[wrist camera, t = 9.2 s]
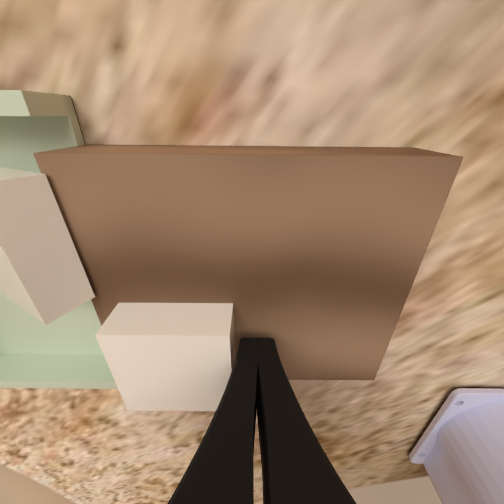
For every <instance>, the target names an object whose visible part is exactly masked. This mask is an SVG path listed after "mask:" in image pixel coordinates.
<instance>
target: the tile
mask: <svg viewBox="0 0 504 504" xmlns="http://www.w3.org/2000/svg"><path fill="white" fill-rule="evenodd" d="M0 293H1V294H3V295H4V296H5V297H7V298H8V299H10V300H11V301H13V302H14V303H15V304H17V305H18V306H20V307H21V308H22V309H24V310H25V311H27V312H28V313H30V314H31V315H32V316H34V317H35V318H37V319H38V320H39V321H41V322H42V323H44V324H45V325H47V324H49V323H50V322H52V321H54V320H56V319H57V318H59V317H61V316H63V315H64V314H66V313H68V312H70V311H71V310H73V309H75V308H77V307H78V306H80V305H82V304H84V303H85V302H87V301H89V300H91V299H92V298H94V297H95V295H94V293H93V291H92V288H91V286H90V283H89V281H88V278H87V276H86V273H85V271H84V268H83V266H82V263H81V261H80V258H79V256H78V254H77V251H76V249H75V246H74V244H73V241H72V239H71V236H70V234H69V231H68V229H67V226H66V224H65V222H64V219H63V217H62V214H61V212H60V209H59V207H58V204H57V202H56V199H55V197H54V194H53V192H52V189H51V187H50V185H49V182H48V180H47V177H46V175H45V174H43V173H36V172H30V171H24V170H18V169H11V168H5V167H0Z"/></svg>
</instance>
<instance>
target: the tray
mask: <svg viewBox="0 0 504 504" xmlns="http://www.w3.org/2000/svg"><path fill="white" fill-rule="evenodd" d="M80 145H85V143H84V140H83V137H82V133H81V130H80V126H79V123H78V120H77V116H76V113H75V110H74V106H73V103H72V99H71V96H66V95H58V94H49V93H40V92H32V91H23V90H0V167H5V168H11V169H18V170H24V171H30V172H36V173H41V172H40V170H39V167H38V164H37V162H36V159H35V157H34V154H33V153H37V152H43V151H49V150H56V149H62V148H68V147H74V146H80ZM100 328H101V323H100V321H99V318H98V316H97V313H96V311H95V308H94V306H93V303H92V301H91V300H89V301H87V302H85V303H84V304H82V305H80V306H78V307H77V308H75V309H73V310H71V311H70V312H68V313H66V314H64V315H63V316H61V317H59V318H57V319H56V320H54V321H52V322H50V323H49V324H47V325H45V324H44V323H42V322H41V321H39V320H38V319H37V318H35V317H34V316H32V315H31V314H30V313H28V312H27V311H25V310H24V309H22V308H21V307H20V306H18V305H17V304H15V303H14V302H13V301H11V300H10V299H8V298H7V297H5V296H4V295H3V294H1V293H0V388H91V389H118V387H117V385H116V383H115V380H114V378H113V376H112V373H111V371H110V369H109V366H108V364H107V362H106V359H105V357H104V355H103V352H102V350H101V348H100V345H99V343H98V341H97V338H96V336H95V334H96V333H97V332H98V330H99V329H100Z"/></svg>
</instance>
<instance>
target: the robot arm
mask: <svg viewBox="0 0 504 504" xmlns="http://www.w3.org/2000/svg"><path fill="white" fill-rule="evenodd" d="M256 409H257V418H258V429H259V440H260V451H261V463H262V477H263V504H356V502H355V501H354V499H353V498H352V496H351V495H350V493H349V492H348V490H347V489H346V487H345V485H344V484H343V482H342V481H341V479H340V478H339V476H338V474H337V473H336V471H335V469H334V468H333V466H332V464H331V462H330V461H329V459H328V457H327V456H326V454H325V452H324V450H323V449H322V447H321V445H320V443H319V442H318V440H317V438H316V436H315V434H314V433H313V431H312V429H311V427H310V425H309V423H308V421H307V419H306V417H305V415H304V413H303V411H302V409H301V407H300V405H299V403H298V401H297V399H296V397H295V394H294V392H293V390H292V388H291V385H290V383H289V381H288V378H287V376H286V373H285V371H284V368H283V366H282V363H281V360H280V357H279V354H278V351H277V347H276V344H275V340H274V339H273V338H249V337H243V338H241V339H240V341H239V347H238V352H237V356H236V359H235V363H234V366H233V369H232V372H231V375H230V377H229V380H228V383H227V386H226V388H225V391H224V393H223V396H222V398H221V401H220V403H219V405H218V407H217V410H216V412H215V414H214V417H213V419H212V421H211V423H210V425H209V427H208V430H207V432H206V434H205V436H204V438H203V440H202V442H201V444H200V446H199V448H198V450H197V452H196V454H195V455H194V457H193V459H192V461H191V463H190V465H189V467H188V468H187V470H186V472H185V474H184V476H183V478H182V479H181V481H180V483H179V485H178V487H177V488H176V490H175V492H174V494H173V495H172V497H171V499H170V500H169V502H168V504H254V501H253V452H254V438H255V423H256ZM409 459H410V461H411V462H412V463H415V464H423V465H424V467H425V469H426V471H427V473H428V475H429V477H430V479H431V481H432V483H433V485H434V487H435V489H436V491H437V493H438V495H439V498H440V499H441V502H442V504H504V389H500V388H458V389H455V390H453V391H452V392H451V393H450V395H449V396H448V398H447V399H446V401H445V402H444V404H443V405H442V407H441V408H440V410H439V411H438V413H437V414H436V416H435V417H434V419H433V420H432V422H431V423H430V425H429V426H428V428H427V429H426V431H425V432H424V433H423V435H422V436H421V438H420V439H419V441H418V442H417V444H416V445H415V447H414V448H413V450H412V451H411V453H410V454H409Z"/></svg>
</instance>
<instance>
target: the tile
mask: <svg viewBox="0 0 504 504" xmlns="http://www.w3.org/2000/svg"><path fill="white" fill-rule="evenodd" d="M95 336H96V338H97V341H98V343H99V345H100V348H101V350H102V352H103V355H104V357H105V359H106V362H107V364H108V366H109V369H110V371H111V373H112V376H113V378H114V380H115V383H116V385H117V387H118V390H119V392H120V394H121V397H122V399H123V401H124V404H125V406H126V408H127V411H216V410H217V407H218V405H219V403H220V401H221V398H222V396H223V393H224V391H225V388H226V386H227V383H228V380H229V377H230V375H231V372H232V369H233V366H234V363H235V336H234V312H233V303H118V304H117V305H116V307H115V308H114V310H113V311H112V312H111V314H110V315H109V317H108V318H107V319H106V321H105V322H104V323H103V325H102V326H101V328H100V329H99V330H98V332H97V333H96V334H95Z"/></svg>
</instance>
